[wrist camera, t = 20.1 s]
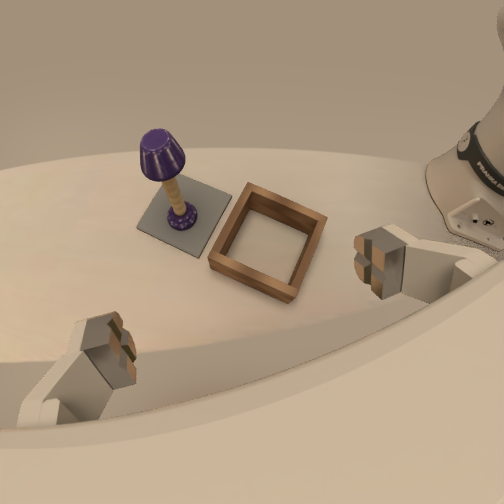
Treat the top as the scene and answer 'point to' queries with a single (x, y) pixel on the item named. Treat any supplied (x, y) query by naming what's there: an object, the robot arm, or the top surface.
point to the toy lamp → (167, 174)
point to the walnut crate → (281, 212)
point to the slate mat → (208, 214)
